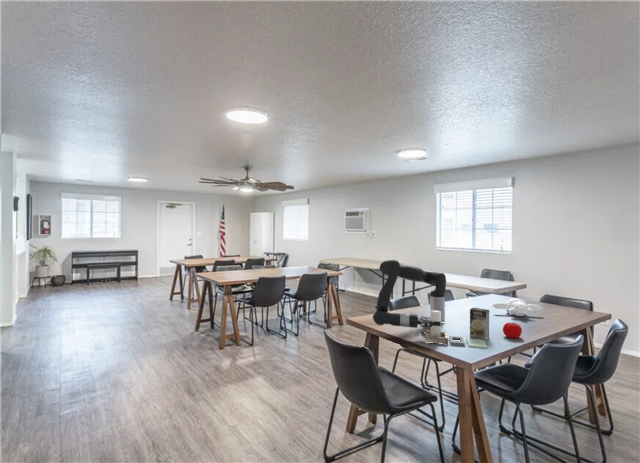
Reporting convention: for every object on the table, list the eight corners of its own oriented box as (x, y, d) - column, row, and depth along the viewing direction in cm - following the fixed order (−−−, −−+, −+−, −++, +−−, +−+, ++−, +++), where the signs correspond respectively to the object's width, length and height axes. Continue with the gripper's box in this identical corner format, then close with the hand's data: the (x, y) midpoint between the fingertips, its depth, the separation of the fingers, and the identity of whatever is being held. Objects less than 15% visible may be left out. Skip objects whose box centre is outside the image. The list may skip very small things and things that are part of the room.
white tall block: (430, 336, 196) (430, 309, 196) (440, 337, 194) (440, 310, 194) (430, 339, 191) (430, 312, 191) (441, 340, 189) (441, 312, 189)
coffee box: (469, 337, 198) (469, 309, 198) (473, 334, 203) (472, 307, 203) (486, 340, 192) (486, 311, 192) (489, 337, 197) (489, 309, 197)
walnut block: (423, 332, 209) (423, 322, 209) (430, 332, 209) (430, 322, 209) (425, 334, 205) (425, 324, 205) (432, 334, 204) (432, 324, 204)
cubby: (426, 336, 200) (426, 330, 200) (446, 338, 196) (446, 332, 196) (425, 343, 188) (425, 336, 188) (447, 345, 184) (447, 338, 184)
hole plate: (449, 338, 196) (449, 335, 196) (462, 339, 194) (462, 336, 194) (450, 345, 184) (450, 342, 184) (464, 346, 182) (464, 343, 182)
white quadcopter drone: (490, 313, 255) (490, 298, 255) (511, 308, 271) (511, 294, 271) (525, 321, 234) (526, 304, 234) (546, 315, 251) (546, 300, 251)
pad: (466, 340, 193) (466, 338, 193) (484, 341, 190) (484, 340, 190) (468, 346, 182) (468, 345, 182) (487, 348, 179) (487, 346, 179)
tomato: (500, 337, 197) (500, 322, 198) (506, 333, 205) (506, 319, 205) (518, 341, 191) (518, 325, 191) (524, 337, 198) (524, 322, 198)
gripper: (408, 316, 190) (440, 318, 185) (409, 310, 204) (440, 312, 199) (408, 330, 190) (440, 333, 185) (409, 323, 204) (440, 325, 199)
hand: (440, 322), depth 192 cm, fingers closed on white tall block, 5 cm apart
